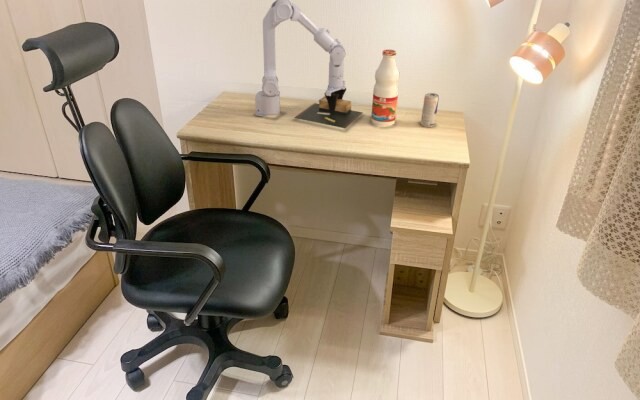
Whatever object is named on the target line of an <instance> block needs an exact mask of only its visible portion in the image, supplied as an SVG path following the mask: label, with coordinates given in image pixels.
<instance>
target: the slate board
mask: <svg viewBox="0 0 640 400" xmlns="http://www.w3.org/2000/svg"><path fill="white" fill-rule="evenodd" d="M318 112H321V113H330V115H325V114H317V113H318ZM363 113H364V112H363V111H358V110H353V109H351V111H350V112H349V113H348V114H347V115H343V114H338V113H333V112H328V111H323V110H319V103H316V102H313V104H311V105H310V106H309V107H307V108H306V109H304V110H302V111H301V112H300V113H299V114H297V115H296V116H295V117H294V119H297V120H302V121H307V122H312V123H318V124H322V125H326V126H331V127H337V128H341V129H347V128H348V127H349V126H350V125H351V124H352V123H354V121H356V120H357V119H358V118H359V117H360V116H361V115H363ZM326 117H327V118H330V119H332V120H334V121H335V122H332V121H329V120H327V119H325V118H326Z"/></svg>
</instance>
